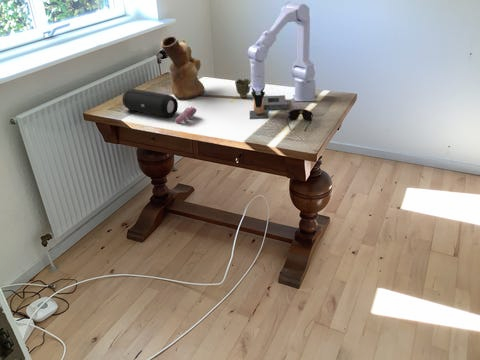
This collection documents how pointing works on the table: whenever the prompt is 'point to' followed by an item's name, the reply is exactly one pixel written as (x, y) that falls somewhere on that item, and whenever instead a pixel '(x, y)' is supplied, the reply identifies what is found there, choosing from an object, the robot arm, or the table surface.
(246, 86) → the cup
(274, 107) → the housing
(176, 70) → the ceramic vessel
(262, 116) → the mat
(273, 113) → the table surface
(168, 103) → the portable speaker
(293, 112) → the sunglasses
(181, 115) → the pink elongated curved piece
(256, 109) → the tapered peach cylinder
